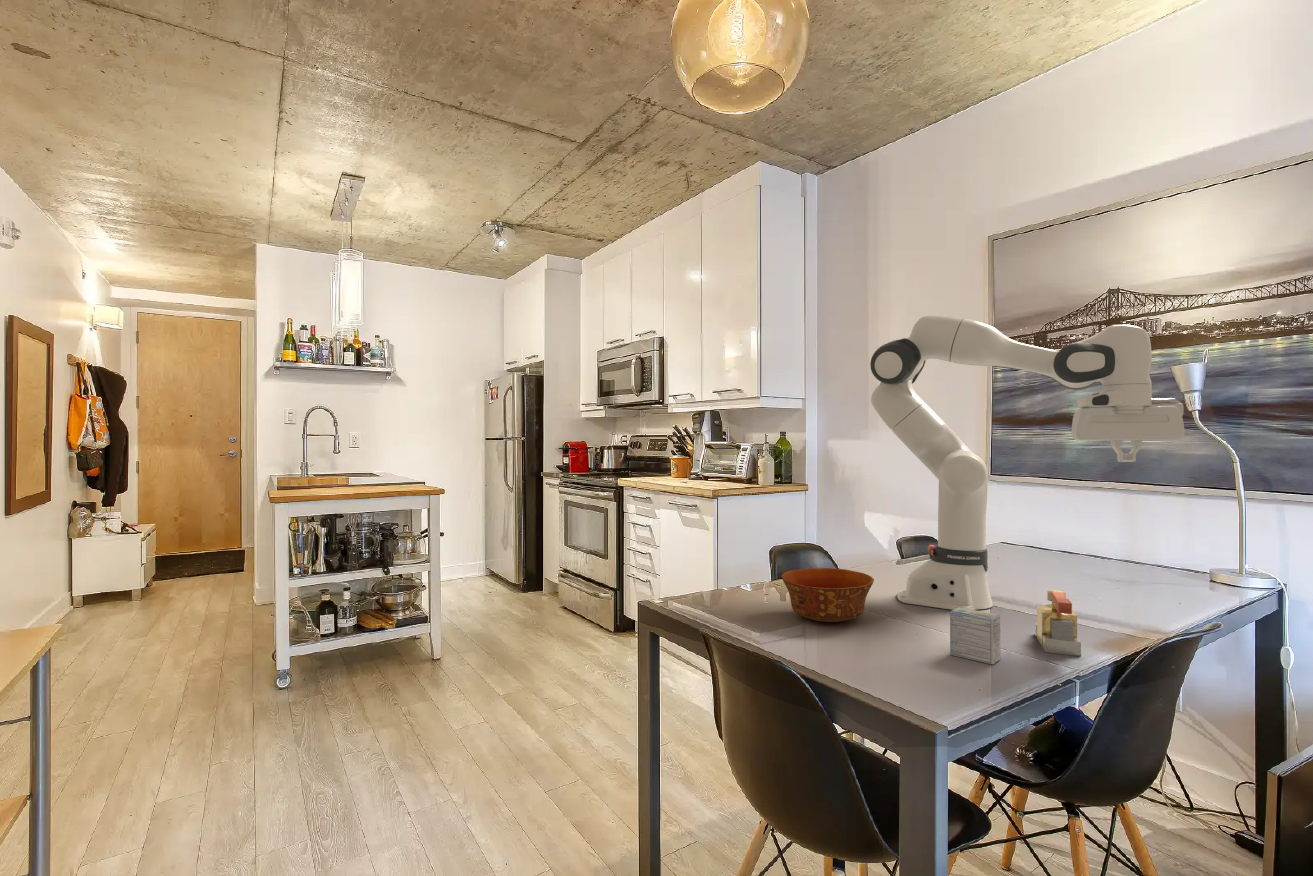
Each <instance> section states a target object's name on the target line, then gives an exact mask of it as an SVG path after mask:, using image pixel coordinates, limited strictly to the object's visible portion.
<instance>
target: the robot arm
mask: <svg viewBox="0 0 1313 876" xmlns="http://www.w3.org/2000/svg"><path fill="white" fill-rule="evenodd" d="M1152 357H1153V355H1152V345H1151V338H1150V335H1149V333H1148V331H1147V329H1144V328H1143V327H1141V326H1137V325H1131V324H1112V325H1109V326H1107V327H1105V328H1104V329H1102V330H1101V331H1099V332H1098V333H1096V334H1094V335H1092V336H1090V337H1088V338H1086V339H1085V338H1084V339H1082V340H1080V341H1076V342H1072V343H1070V344H1067V345H1065V346H1064V347H1062V348H1061V349H1060V350H1055V349H1049V348H1044V347H1041V346H1040V347H1039V346H1035V345H1031V344H1026V343H1022V342H1018V341H1016V340H1014V339H1011V338H1010V337H1008V336H1007V335H1005V334H1003V333H1002V332H1001V331H1000V330H998V329H997V328H996V327H994V326H993V325H992V326H991V325H989V324H987V323H984V322H981V321H978V320H974V319H970V318H966V317H959V316H950V315H936V314H935V315H933V314H932V315H931V314H929V315H924V316H922V317H920V318H919V319H918V320H917V321H916V322H915V324H914V325H913V327H912V329H911V333H910V335H909V337H908V338H907V337H906V338H904V337H903V338H900V339H894V340H891V341H888V342H887V343H885V344H883V345H881V346H879V347H878V348H877V349H876V350H875V351H874V353H873V354H872V356H871V359H870V364H869V365H870V370H871V373H872V375H873V377H874V378H875V379H876V380H878V381H879V382H880V384H879V385H877V386H876V387H875V388H874V390H873V392H872V394H871V397H870V402H871V406H872V407H873V408H874V410H875V412H876V413H877V414H878V416H879V417H880V419H881V420H882V421H883V422H884V423H885V425H886V426H887V427H888V428H889V429H890V430H891V431H892V432H893V434H895V435H896V438H898V439H899V440H900V441H901V442H902V443H903V444H904V445H905V446H906V447H907V448H908V449H909V451H910V452H912V454H913V455H914V456H915V457H916V458H917V459H918V460H919V461H920V462H921V463H922V464H923V465H924V466H925V467H926V468H927V470H928V471H930V473H932V475H934V476H935V478H936V479H937V480H938V504H937V505H938V508H937V509H938V510H937V521H938V522H937V545H933V544H929V545H928V546H927V551H928V553H929V559H928V560H927V561H926V562H924V563H923V564H921V565H920V566H919V567H917V568H915V569H914V570H912V571H910V573H909V574H908V578H907V580H906V585H905V588H901V589H900V590H898V591H897V596H896V598H897V600H898V601H900V602H901V603H904V604H909V605H916V606H917V605H918V606H924V607H931V608H937V609H939V608H940V609H946V610H951V611H952V610H954V609H956V608H965V609H971V610H976V611H977V610H985V609H990V608H993V605H994V604H993V600H992V597H991V593H990V588H989V582H988V576H987V575H988V573H987V572H988V569H989V552H988V549H987V547H986V545H987V542H986V541H987V537H986V535H987V534H986V533H987V530H986V529H987V528H986V525H987V522H986V521H987V508H988V507H987V504H988V487H989V486H988V485H989V483H988V482H989V480H988V479H989V471H988V466H987V465H986V462H985V461H984V460H983V459H982V458H981V457H980V456H979V455H977V454H975V453H974V452H973V451H972V450H971V449H970V448H969V447H968V446H967V445H966V443H964V441H963V440H961V438H960V437H959V436H958V435H957V434H956V433H955V432H954V431H953V430H952V428H950V426H948V424H947V423H946V422H945V421H944V420H943V419H942V418H941V417H940V416H939V415H938V414H937V413H936V412H935V411H934V410H933V409H932V408H931V406H929V405H928V404H927V403H926V402H925V401H924V400H923V399H922V397H920V396H919V395H918V394H917V392H916V390H915V389H914V387H913V384H914V383H915V382H916V380H917V379H918V377H919V376H920V374H921V372H922V371H923V368H924V367H925V364H926V361H927V360H930V359H932V360H933V359H934V360H940V361H945V362H948V363H949V362H950V363H953V364H959V365H967V366H979V367H980V366H981V367H982V366H983V367H987V366H988V367H1002V368H1004V367H1005V368H1006V367H1007V368H1011V369H1016V370H1021V371H1025V372H1028V373H1033V374H1038V375H1041V376H1045V377H1048V378H1050V379H1052V380H1053V381H1055V382H1056V383H1057V384H1059V385H1060V386H1062V387H1064V388H1066V389H1068V390H1072V391H1082V390H1086V389H1088V388H1091V387H1093V386H1095V385H1096V384H1097V383H1098V382H1100V383H1101V391H1100V392H1095V393H1092V394H1090V395H1087V396H1085V397H1080V398H1078V399H1077V400H1076V401H1077V402H1076V406H1077V408H1078V409H1077V410H1076V411H1075V412H1074V414H1073V417H1072V424H1071V438H1073V440H1075V441H1077V442H1078V441H1081V442H1083V441H1085V442H1086V441H1087V442H1089V441H1092V442H1093V441H1099V442H1100V441H1105V442H1106V441H1110V446H1111V448H1112V449H1113V451H1114V453H1116V461H1117V462H1119V463H1120V462H1121V463H1125V462H1126V463H1127V462H1128V463H1129V462H1130V463H1133V462H1137V455H1136V454H1138V452H1139V451H1140V450H1141V448H1142V447H1143V442H1145V441H1147V442H1149V441H1151V442H1152V441H1155V442H1157V441H1160V442H1165V441H1166V442H1168V441H1169V442H1173V441H1175V442H1176V441H1177V442H1178V441H1179V442H1180V441H1181V440H1182V439H1183V438H1184V437H1185V433H1186V432H1185V425H1184V424H1185V423H1184V419H1183V416H1184V409H1185V408H1184V404H1183V402H1181V401H1180V400H1178V399H1176V398H1173V397H1167V398H1162V397H1161V398H1160V397H1159V398H1158V397H1156V398H1155V397H1154V398H1153V395H1152V394H1153V389H1152V387H1153V386H1152V385H1153V383H1152V379H1151V376H1150V370H1151V368H1152V364H1153V363H1152V362H1153V359H1152ZM1123 441H1129V442H1130V446H1132V448H1131V450H1130V451H1129V452H1128V453H1124V451H1123V450H1122V449H1121V447H1120V446H1122V445H1123Z"/></svg>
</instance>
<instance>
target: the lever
mask: <svg viewBox="0 0 1313 876" xmlns="http://www.w3.org/2000/svg"><path fill="white" fill-rule="evenodd" d="M1046 592H1047V598H1046V599H1047V601H1048V602H1051V603H1052V602H1053V603H1054V605H1055V608H1056V610H1057V612H1058V613H1065V614H1072V610H1073V602H1071V600H1070V599H1069V598H1067V593H1066V591H1064V590H1063V591H1062V590H1060V589H1059V590H1057V589H1048V590H1047V591H1046Z"/></svg>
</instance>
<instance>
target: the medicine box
mask: <svg viewBox="0 0 1313 876" xmlns="http://www.w3.org/2000/svg"><path fill="white" fill-rule="evenodd" d="M949 650H950V651H949V654H950V655H951V656H955V657H958V658H961V659H962V658H963V659H968V660H972V661H977V662H979V663H985V664H988V665H994V664H996V663H997V662H998V661H999V660H1001V656H1002V655H1001V615H999V614H997V613H992V612H987V611H981V610H977V609H976V610H971V609H965V608H956V609H954V610H951V611H950V612H949Z"/></svg>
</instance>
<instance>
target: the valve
mask: <svg viewBox="0 0 1313 876" xmlns="http://www.w3.org/2000/svg"><path fill="white" fill-rule="evenodd" d="M1036 605H1037V606H1036V621H1034V636H1035V637H1036V640H1038V642H1039V644H1040V646H1041V648H1042V649H1043V651H1044V653H1050V654H1059V655H1067V656H1077V657H1082V641H1080V639H1079V638H1078V615H1077V614H1076V612H1074V611H1073V609H1072V614H1065V613H1058V612H1057V610H1056V608H1055V605H1054V603H1053V602H1052V601H1051V603H1048V604H1045V605H1038V604H1036Z"/></svg>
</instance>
